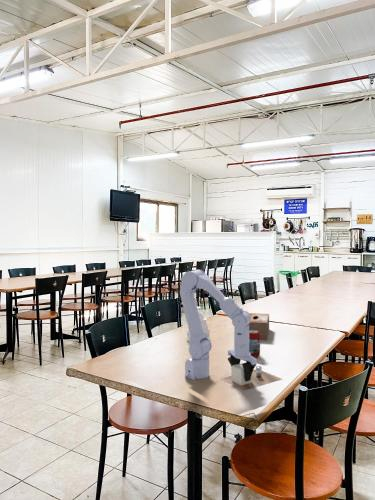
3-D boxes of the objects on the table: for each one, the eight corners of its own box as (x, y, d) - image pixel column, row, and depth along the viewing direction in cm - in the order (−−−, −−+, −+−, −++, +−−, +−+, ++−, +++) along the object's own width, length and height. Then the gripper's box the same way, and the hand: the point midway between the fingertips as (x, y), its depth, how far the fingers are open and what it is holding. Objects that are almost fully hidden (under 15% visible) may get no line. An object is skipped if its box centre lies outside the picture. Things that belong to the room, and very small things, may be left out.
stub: (258, 378, 154) (258, 368, 154) (254, 377, 156) (254, 366, 156) (262, 377, 155) (262, 367, 155) (258, 375, 157) (258, 365, 157)
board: (244, 394, 142) (244, 390, 142) (220, 382, 154) (220, 378, 154) (282, 382, 153) (282, 379, 153) (257, 372, 165) (257, 368, 165)
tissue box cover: (267, 341, 215) (267, 323, 214) (240, 339, 218) (240, 321, 218) (269, 330, 240) (269, 313, 239) (245, 328, 243) (245, 312, 243)
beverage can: (244, 357, 186) (244, 332, 185) (247, 353, 192) (247, 329, 192) (258, 358, 183) (258, 333, 183) (261, 354, 190) (261, 330, 189)
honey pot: (189, 336, 225) (189, 305, 224) (211, 337, 222) (211, 306, 222) (184, 342, 212) (184, 309, 212) (207, 343, 210) (207, 310, 209)
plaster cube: (241, 385, 147) (241, 369, 147) (231, 380, 152) (231, 365, 151) (252, 382, 150) (252, 366, 150) (242, 377, 155) (242, 363, 154)
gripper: (262, 345, 146) (262, 381, 147) (237, 337, 158) (237, 370, 159) (248, 349, 142) (248, 385, 143) (223, 340, 155) (223, 374, 155)
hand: (241, 378), depth 151 cm, fingers open, 6 cm apart
